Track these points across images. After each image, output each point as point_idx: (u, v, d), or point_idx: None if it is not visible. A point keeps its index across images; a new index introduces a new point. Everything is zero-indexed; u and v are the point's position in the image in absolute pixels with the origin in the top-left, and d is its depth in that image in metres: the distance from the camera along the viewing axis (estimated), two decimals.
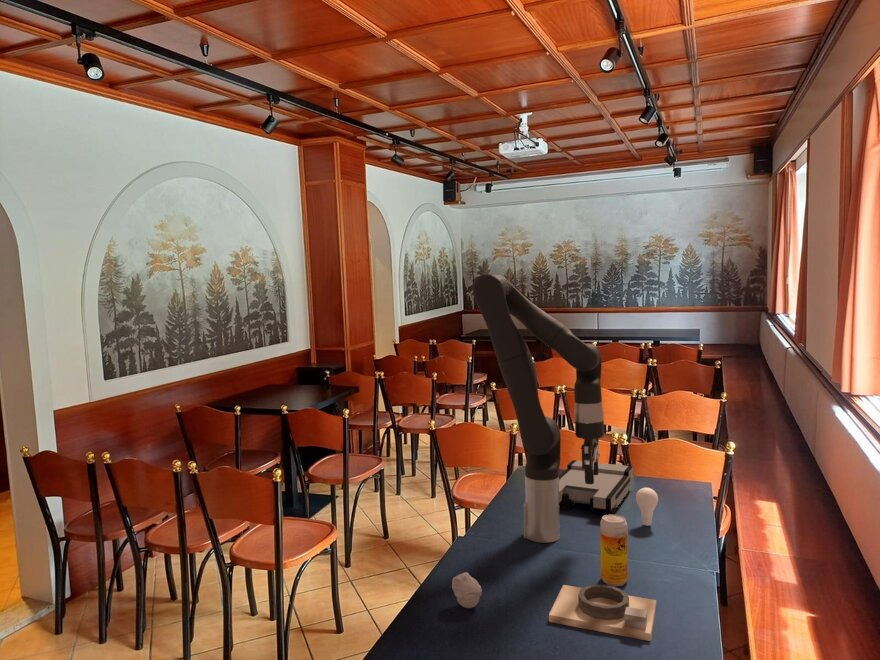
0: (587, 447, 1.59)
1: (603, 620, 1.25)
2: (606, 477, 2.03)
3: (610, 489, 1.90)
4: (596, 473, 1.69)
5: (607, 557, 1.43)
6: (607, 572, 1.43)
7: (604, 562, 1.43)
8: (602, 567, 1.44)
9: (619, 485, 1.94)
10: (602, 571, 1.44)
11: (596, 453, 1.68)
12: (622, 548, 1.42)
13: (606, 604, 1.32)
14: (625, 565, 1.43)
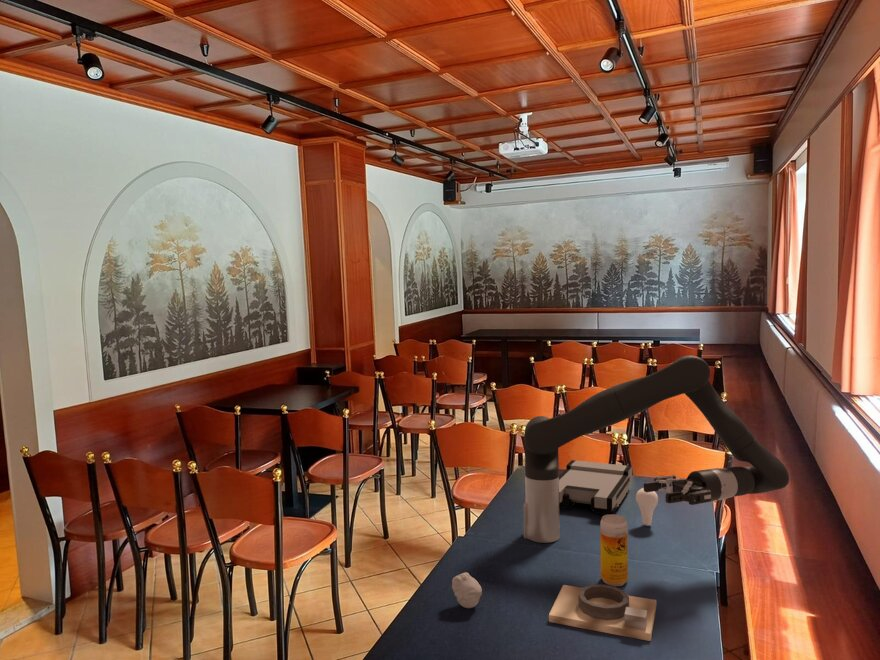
0: (710, 497, 1.44)
1: (603, 620, 1.25)
2: (606, 477, 2.03)
3: (611, 489, 1.91)
4: (647, 490, 1.51)
5: (607, 557, 1.43)
6: (607, 572, 1.43)
7: (604, 562, 1.43)
8: (602, 567, 1.44)
9: (619, 485, 1.95)
10: (602, 571, 1.44)
11: (670, 490, 1.52)
12: (622, 548, 1.42)
13: (606, 604, 1.32)
14: (625, 565, 1.43)
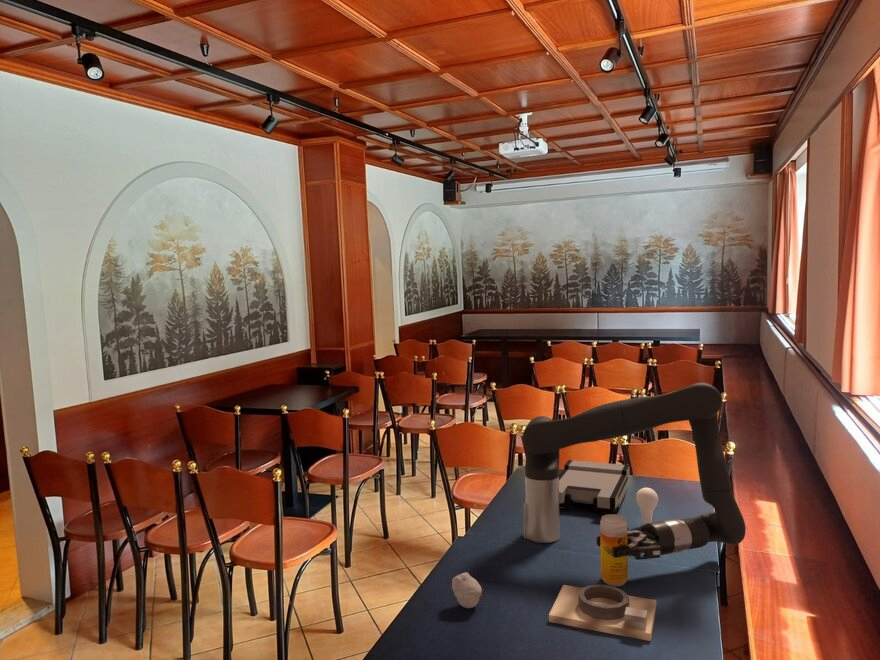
0: (659, 553, 1.41)
1: (603, 620, 1.25)
2: (605, 477, 2.03)
3: (612, 489, 1.91)
4: (599, 544, 1.47)
5: (607, 557, 1.43)
6: (607, 572, 1.43)
7: (604, 562, 1.43)
8: (602, 567, 1.44)
9: (620, 484, 1.95)
10: (602, 571, 1.44)
11: None
12: None
13: (606, 604, 1.32)
14: (625, 565, 1.43)
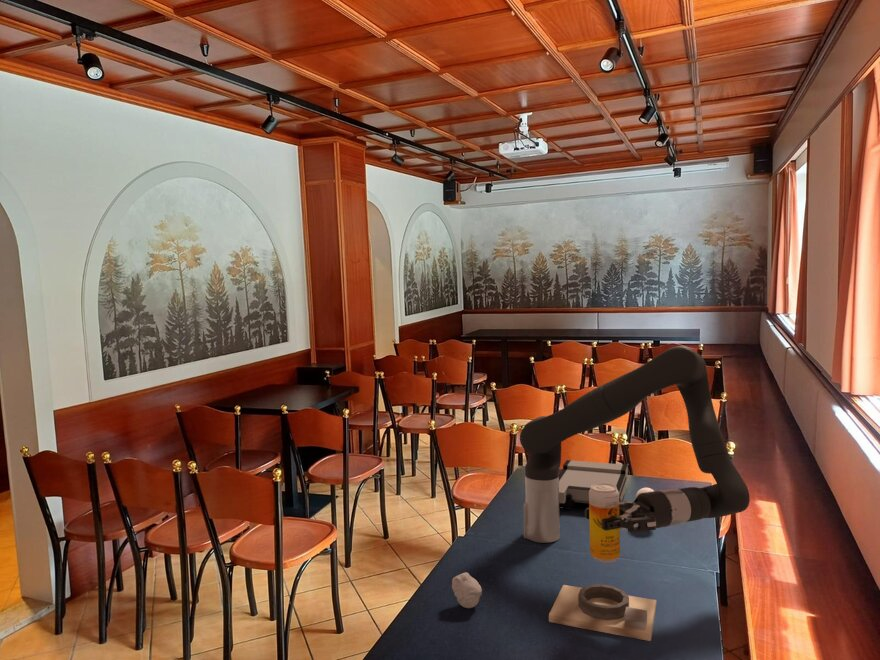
0: (655, 525, 1.25)
1: (603, 620, 1.25)
2: (604, 476, 2.04)
3: None
4: (588, 517, 1.32)
5: (597, 530, 1.27)
6: (596, 547, 1.28)
7: (594, 536, 1.28)
8: (591, 542, 1.29)
9: (620, 484, 1.96)
10: (591, 546, 1.29)
11: None
12: None
13: (606, 604, 1.32)
14: (617, 539, 1.28)
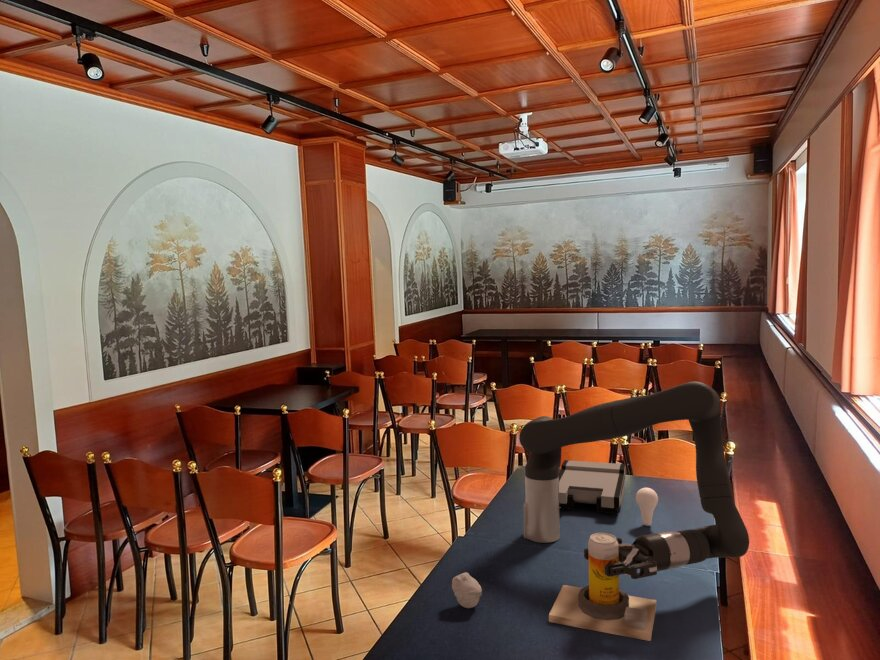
0: (656, 570, 1.26)
1: (603, 620, 1.25)
2: (604, 476, 2.04)
3: (614, 488, 1.92)
4: (587, 557, 1.33)
5: (596, 581, 1.28)
6: (595, 597, 1.28)
7: (593, 586, 1.29)
8: (590, 592, 1.30)
9: (620, 483, 1.96)
10: (590, 596, 1.30)
11: None
12: None
13: None
14: (616, 590, 1.28)
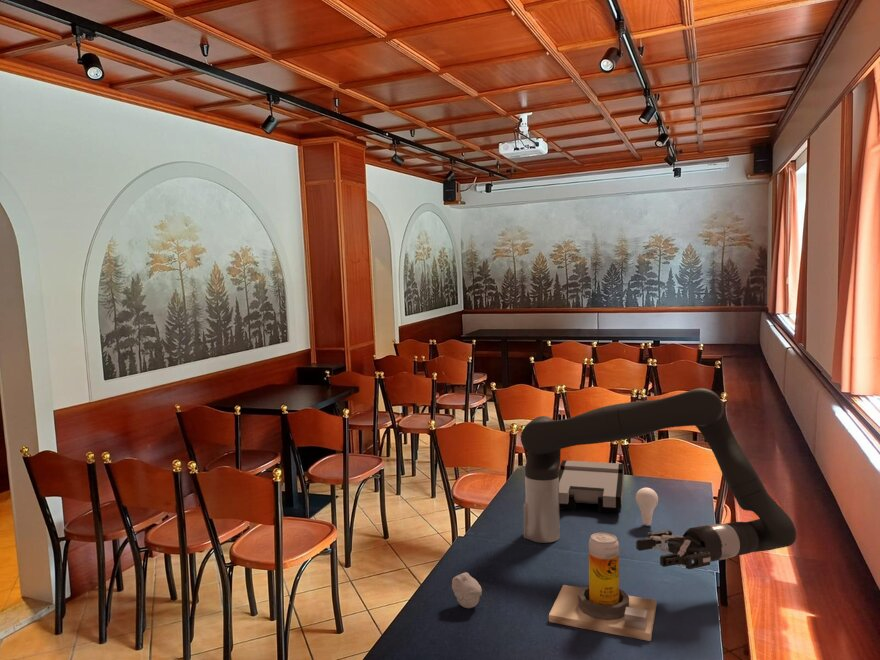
0: (710, 560, 1.30)
1: (603, 620, 1.25)
2: (603, 476, 2.04)
3: (615, 488, 1.92)
4: (640, 548, 1.37)
5: (596, 580, 1.28)
6: (596, 597, 1.28)
7: (593, 586, 1.29)
8: (591, 591, 1.30)
9: (620, 483, 1.97)
10: (591, 596, 1.30)
11: (665, 548, 1.38)
12: (613, 570, 1.27)
13: None
14: (616, 590, 1.28)
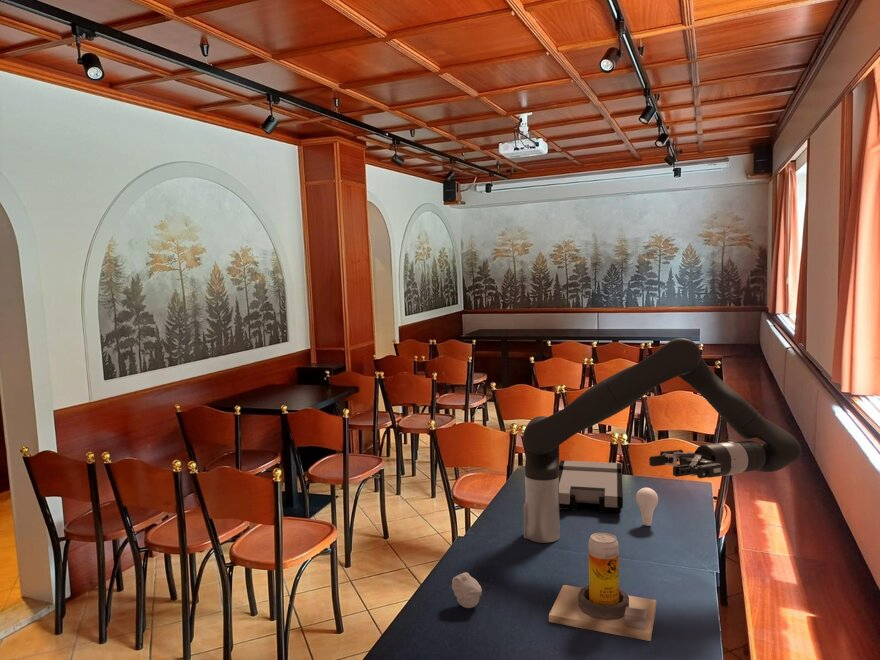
0: (720, 471, 1.37)
1: (603, 620, 1.25)
2: (602, 476, 2.05)
3: (615, 487, 1.92)
4: (653, 464, 1.44)
5: (596, 580, 1.28)
6: (595, 597, 1.28)
7: (593, 586, 1.29)
8: (590, 592, 1.30)
9: (620, 482, 1.97)
10: (591, 596, 1.30)
11: (677, 465, 1.45)
12: (613, 570, 1.27)
13: None
14: (616, 590, 1.28)
